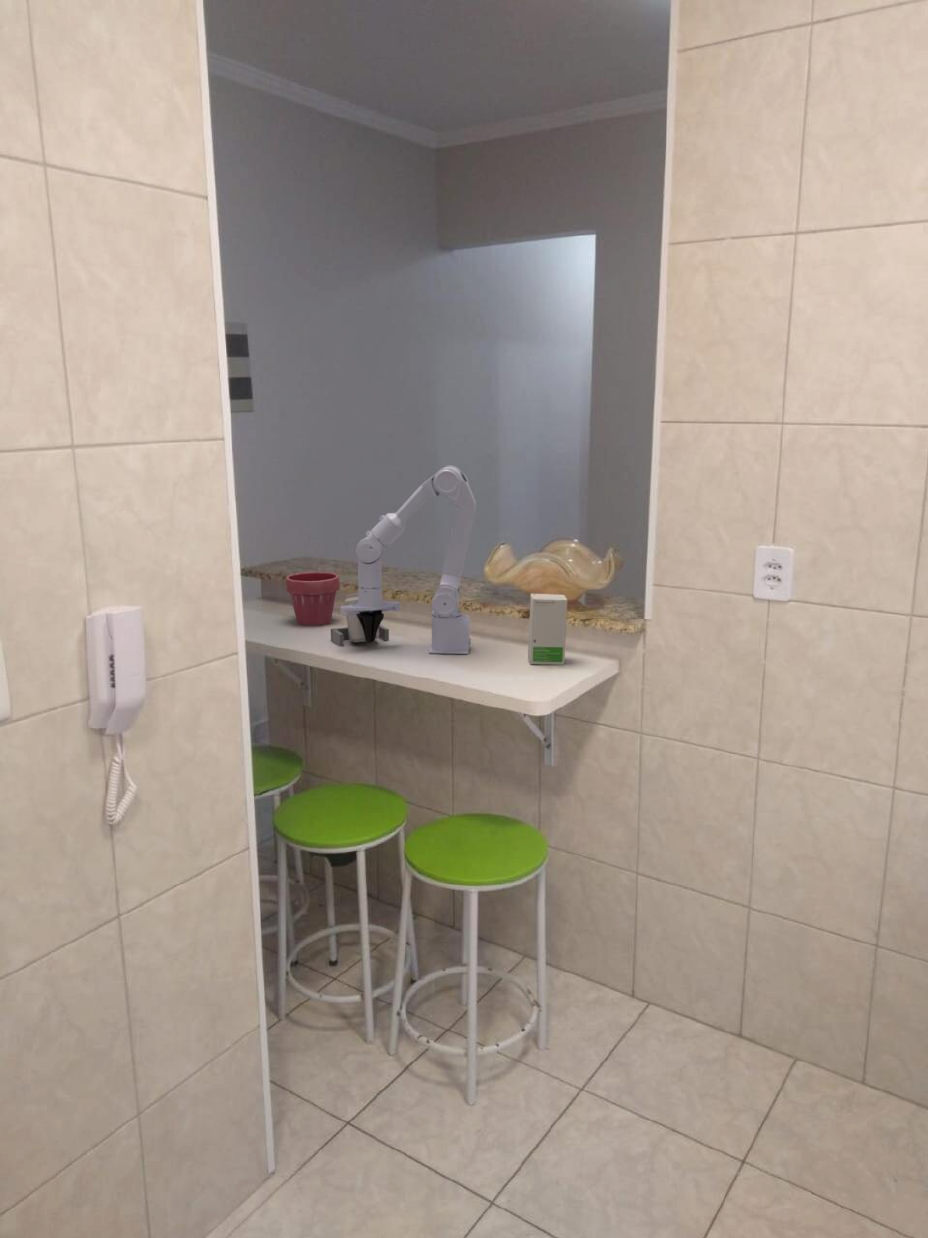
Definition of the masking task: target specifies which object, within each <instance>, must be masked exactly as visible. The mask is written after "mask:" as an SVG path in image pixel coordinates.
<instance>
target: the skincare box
mask: <svg viewBox="0 0 928 1238" xmlns="http://www.w3.org/2000/svg"><path fill="white" fill-rule="evenodd" d="M529 596H530V604H529V626H528V648H527V658H528V662H529V663H530V664H529V665H553V666H554V665H555V666H557V665H558V666H565V657H566V641H567V640H566V639H567V638H566V636H567V635H566V634H567V618H568V616H567V615H568V600H569V599H568V598H567V597H566V595H565V594H552V593H530V595H529Z"/></svg>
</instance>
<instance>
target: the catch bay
mask: <svg viewBox="0 0 928 1238" xmlns="http://www.w3.org/2000/svg"><path fill="white" fill-rule="evenodd" d="M389 630H390V629H389V628H387V627H385V626H384V625H382V624H380V625H379V636H378V638H379V639H380V640H382V641H384V642H389V641H390V639H389V637H390V634H389V633H390V631H389ZM347 640H350V639H349V633H348V626H347V627H337V628H330V641H331V642H332V643H335V645H337V646H338V647H344V645H345V644H344V643H345V642H344V641H347Z"/></svg>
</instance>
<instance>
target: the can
mask: <svg viewBox="0 0 928 1238" xmlns="http://www.w3.org/2000/svg"><path fill="white" fill-rule="evenodd" d="M353 604H358V593H351V594H347V595H346V598H345V600H344V606H347V605H353ZM345 617H346V623H347V627H348V633H349V640H350V641H351V642H352V643H360V642H367V641H366V640H365V635H364V631H363V628H362V625H361V623H360V621H359V619H358V617H357V615H356V614H349V615H346V616H345ZM378 636H379V628H378V630H377V634H376V638H375V641H376V640H377V639H378V638H379V637H378Z"/></svg>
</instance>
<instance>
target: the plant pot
mask: <svg viewBox="0 0 928 1238" xmlns="http://www.w3.org/2000/svg"><path fill="white" fill-rule="evenodd" d="M339 577H340V576H339V575H338V574H337V573H335V572H334V573H333V572H328V571H327V572H325V571H307V572H297V573H292V574H289V575H288V576H286V578H285V579H286V581H285V582H286V586H285V587H286V591H287V592H288V593H289V595H290V598H291V599H290V600H291V603H292V607H293V610H294V611H293V612H294V615H295V618H296V623H297V624H298V625H301V626H307V627H308V626H309V627H314V626H315V627H317V626H324V625H328V624H330V623H331V622H332V618H333V612H334V606H335V601H336V594H337V591H339V590H340V579H339Z"/></svg>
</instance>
